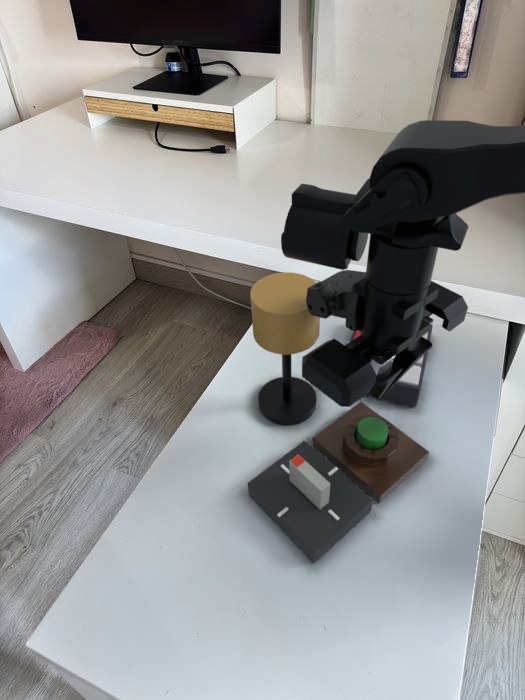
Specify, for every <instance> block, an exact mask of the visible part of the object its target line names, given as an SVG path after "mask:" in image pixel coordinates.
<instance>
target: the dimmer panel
mask: <svg viewBox="0 0 525 700" xmlns="http://www.w3.org/2000/svg"><path fill="white" fill-rule="evenodd" d="M317 451H318V450H315V448H314V447H313V446H311V445H310V444H308V443H307V442H306V441H305V440H303V441H301V442H299V444H297V445H296V446H295V447H293V448H292V449H291V450H289V451H288V452H287V453H285V454H284V455H283V456H282V457H280V458H279V459H277V460H276V461H274V462H273V463H272V464H270V465H269V466H268V467H267V468H266V469H263V471H261V472H260V473H259V474H257V475H256V476H255V477H253V478H252V479H250V480H249V481H248V482H247V483H246V484H247V492H248V496H249V497H251V499H252V500H253V501H254V502H255V503H256V504H257V505H258V506H259V507H260V508H261V509H262V510H263V511H264V513H265V514H267V516H268V517H269V518H270V519H271V520H272V521H273V522H274V524H276V526H278V528H280V530H282V531H283V533H284V534H285V535H286V536H287V537H288V538H289V539H290V540H291V541H292V542H293V544H295V545H296V546H297V548H298V549H299V550H301V552H302V553H303V554H304V555H305V556H306V557H307V558H308V559H309V560H310V561H311V563H313V564H316V562H317V561H318V560H319V559H320V558H322V557H323V556H324V555H325V554H326V553H327V552H328V551H329V550H331V549H332V548H333V547H334V546H335V545H336V544H337V543H338V542H339V541H341V539H343V538H344V537H345V536H346V535H347V534H348V533H349V532H350V531H351V530H353V528H355V527H357V525H358V524H359V523H360V522H362V520H363V519H365V517H367V516H368V515H369V514H370V513H371V512H372V507H373V502H374V501H373V500H374V499H373V498H370V496H369V495H368V494H367V493H366V492H365V491H363V490H362V489H361V488H360V487H359V486H358V485H356V484H354V482H353V481H352V480H351V479H350V478H348V477H347V476H346V475H345V474H344V473H343V472H342V471H340V470H339V468H337V467H336V466H335V465H334V464H332V463H331V462H330V461H329V460H328V459H327V458H326V457H324V456H323V455H322V454H321V453H320V452H319V451H318V452H317ZM297 455H299V456H301V457H302V458H303V459H304V460H305V461H306V462H307V463H308V464H309V465H311V466H312V467H313V468H314V469H315V470H316V471H317V472H318V473H319V474H321V475H322V476H323V477H324V478H325V479H326V480H327V481H328V482H329V483H330V495H329V503H328V504H326V505H325V506H324V507H323V508H322V509H321V510H320V509H319V508H318V507H317V506H316V505H314V504H313V503H312V502H311V501H310V500H309V499H308V498H307V497H306V496H305V495H304V494H303V493H302V492H301V491H300V490H299V489H298V488H297V487H296V486H295V485H294V484H293V483H292V482H291V481H290V480H289V461H290V460H291V459H293V458H294V457H295V456H297Z"/></svg>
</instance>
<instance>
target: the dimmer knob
mask: <svg viewBox="0 0 525 700" xmlns="http://www.w3.org/2000/svg"><path fill="white" fill-rule="evenodd" d="M289 480H290V481H291V482H292V483H293V484H294V485H295V486H296V487H297V488H298V489H299V490H300V491H301V492H302V493H303V494H304V495H305V496H306V497H307V498H308V499H309V500H310V501H311V502H312V503H313V504H314V505H316V506H317V507H318V508H319V509H320V510H321V509H322V508H323V507H324V506H325V505H326V504H328V503H329V495H330V483H329V482H328V481H327V480H326V479H325V478H324V477H323V476H322V475H321V474H319V473H318V472H317V471H316V470H315V469H314V468H313V467H312V466H311V465H309V464H308V463H307V462H306V461H305V460H304V459H303V458H302V457H301V456H299V455H297V456H295V457H294V458H293V459H291V460H290V461H289Z"/></svg>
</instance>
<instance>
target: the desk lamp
mask: <svg viewBox="0 0 525 700" xmlns="http://www.w3.org/2000/svg"><path fill="white" fill-rule="evenodd" d="M316 283H317V281H315V280H314V279H313V278H311V277H310V276H308V275H304V274H301V273H298V272H291V271H289V272H288V271H287V272H285V271H283V272H276V273H272V274H268V275H266V276H263V277H262V278H260V279H258V280H257V281H256V282H255V283H254V284H253V285H252V287H251V289H250V293H249V299H250V309H251V311H250V312H251V323H252V324H251V325H252V336H253V340H254V341H255V342H256V343H257V345H258V346H259V347H260V348H261V349H263V350H265V351H267V352H269V353H272V354H276V355H281V374H282V376H280V377H277V378H273V379H271V380H269V381H268V382H266V383H265V384H264V385H263V386H262V387H261V388H260V390H259V393H258V395H257V401H258V403H257V404H258V408H259V411H260V414H261V415H262V416H263V417H264V418H265V419H266V420H267V421H268V422H270V423H273V424H275V425H278V426H287V427H288V426H296V425H299V424H302V423H304V422H307V420H309V419H311V417H312V416H313V415H314V413H315V411H316V409H317V401H318V400H317V399H318V397H317V393H316V391H315V389H314V386H313V385H312V384H311V383H310V382H308V381H307V380H305V379H302V378H299V377H295V376H292V375H293V373H292V355H295V354H299V353H303V352H305V351H307V350H308V349H310V348H312V347H313V346H314V345H315V344H316V343H317V342H318V339H319V336H320V331H321V329H320V328H321V318H320V317H316V316H313V315H311V314H310V313H309V311H308V308H307V303H306V296H307V289H308V288H309V287H310V286H312V285H314V284H316Z"/></svg>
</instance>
